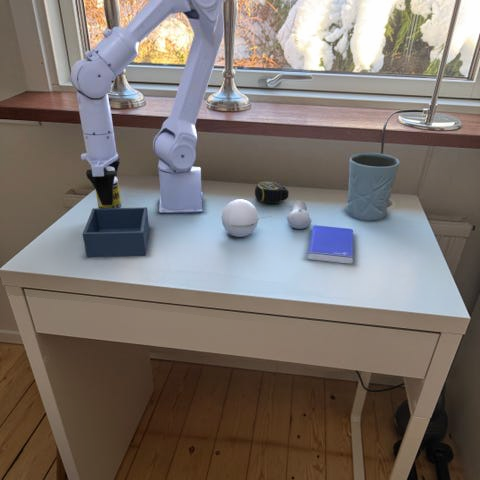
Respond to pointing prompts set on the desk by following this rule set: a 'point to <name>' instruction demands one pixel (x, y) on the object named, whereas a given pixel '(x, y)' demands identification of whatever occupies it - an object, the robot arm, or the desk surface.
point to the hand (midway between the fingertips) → (109, 199)
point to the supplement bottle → (115, 193)
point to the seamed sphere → (240, 218)
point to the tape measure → (270, 192)
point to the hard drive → (331, 244)
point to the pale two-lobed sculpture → (298, 215)
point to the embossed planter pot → (370, 185)
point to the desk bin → (116, 232)
